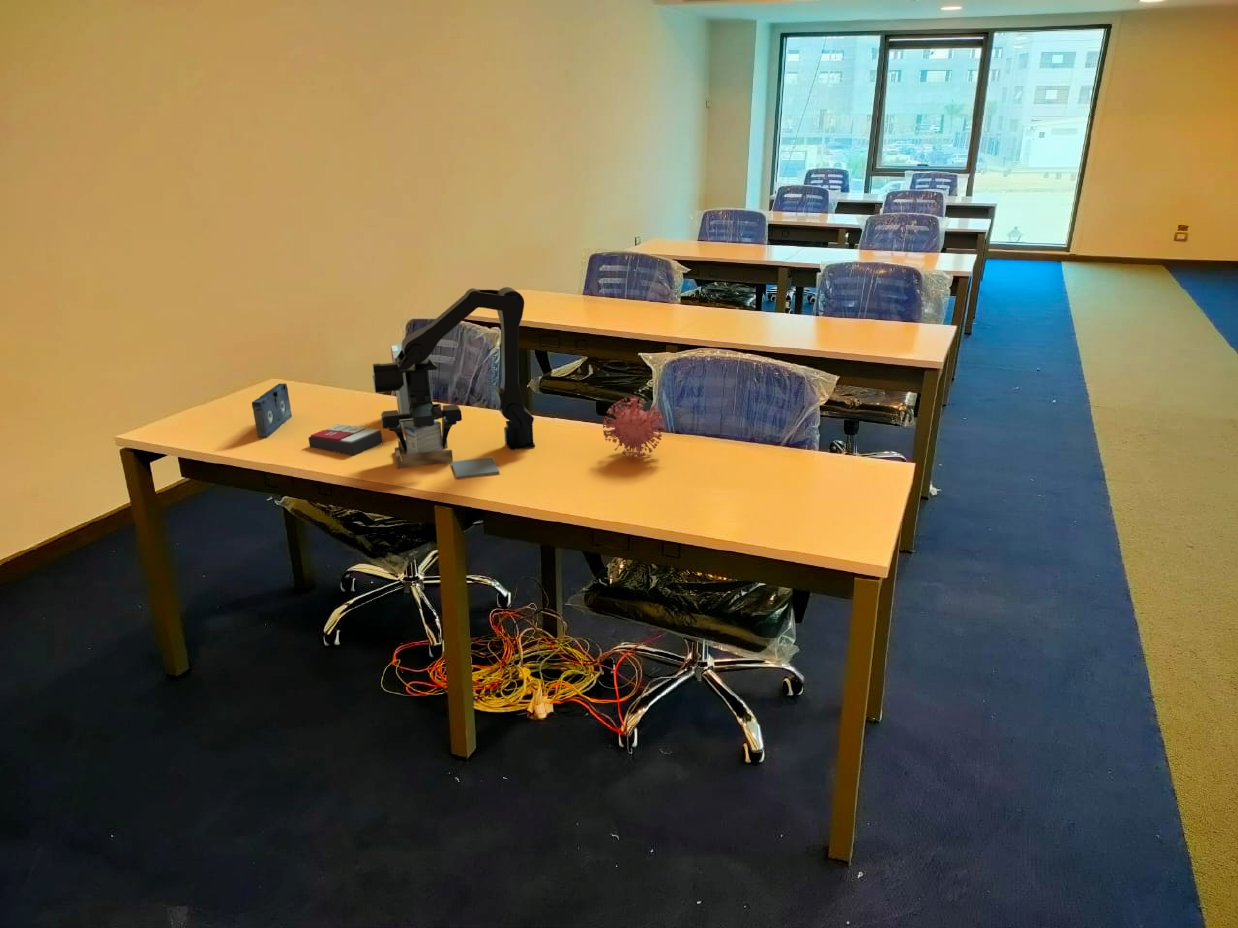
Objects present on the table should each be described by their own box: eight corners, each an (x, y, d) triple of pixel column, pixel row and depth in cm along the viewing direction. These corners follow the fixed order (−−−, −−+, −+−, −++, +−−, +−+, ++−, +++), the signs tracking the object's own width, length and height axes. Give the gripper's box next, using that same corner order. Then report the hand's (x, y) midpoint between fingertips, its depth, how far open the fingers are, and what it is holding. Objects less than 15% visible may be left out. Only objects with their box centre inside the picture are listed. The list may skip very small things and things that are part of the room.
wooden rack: (447, 446, 220) (446, 435, 219) (452, 462, 209) (451, 450, 208) (395, 452, 216) (393, 440, 215) (398, 468, 205) (396, 456, 204)
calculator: (338, 422, 228) (381, 427, 222) (340, 437, 230) (383, 443, 223) (306, 434, 219) (350, 440, 212) (309, 450, 221) (353, 457, 214)
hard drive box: (397, 412, 247) (390, 344, 240) (424, 409, 249) (418, 342, 242) (401, 428, 233) (393, 357, 226) (430, 425, 235) (423, 354, 228)
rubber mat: (492, 459, 211) (492, 457, 210) (499, 473, 202) (499, 471, 202) (451, 464, 208) (451, 461, 208) (456, 478, 199) (456, 476, 199)
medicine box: (432, 450, 217) (429, 418, 214) (443, 454, 214) (441, 421, 211) (407, 459, 211) (403, 426, 208) (418, 463, 209) (415, 429, 205)
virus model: (591, 456, 212) (589, 398, 206) (633, 441, 222) (632, 386, 216) (634, 471, 202) (634, 411, 197) (676, 455, 212) (677, 397, 206)
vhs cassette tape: (283, 416, 244) (278, 383, 241) (294, 416, 244) (288, 383, 240) (255, 438, 227) (249, 402, 224) (266, 438, 227) (260, 402, 223)
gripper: (380, 401, 197) (387, 465, 202) (462, 393, 202) (467, 456, 207) (378, 388, 207) (385, 449, 212) (456, 381, 212) (461, 441, 217)
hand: (424, 449), depth 212 cm, fingers closed on medicine box, 9 cm apart
